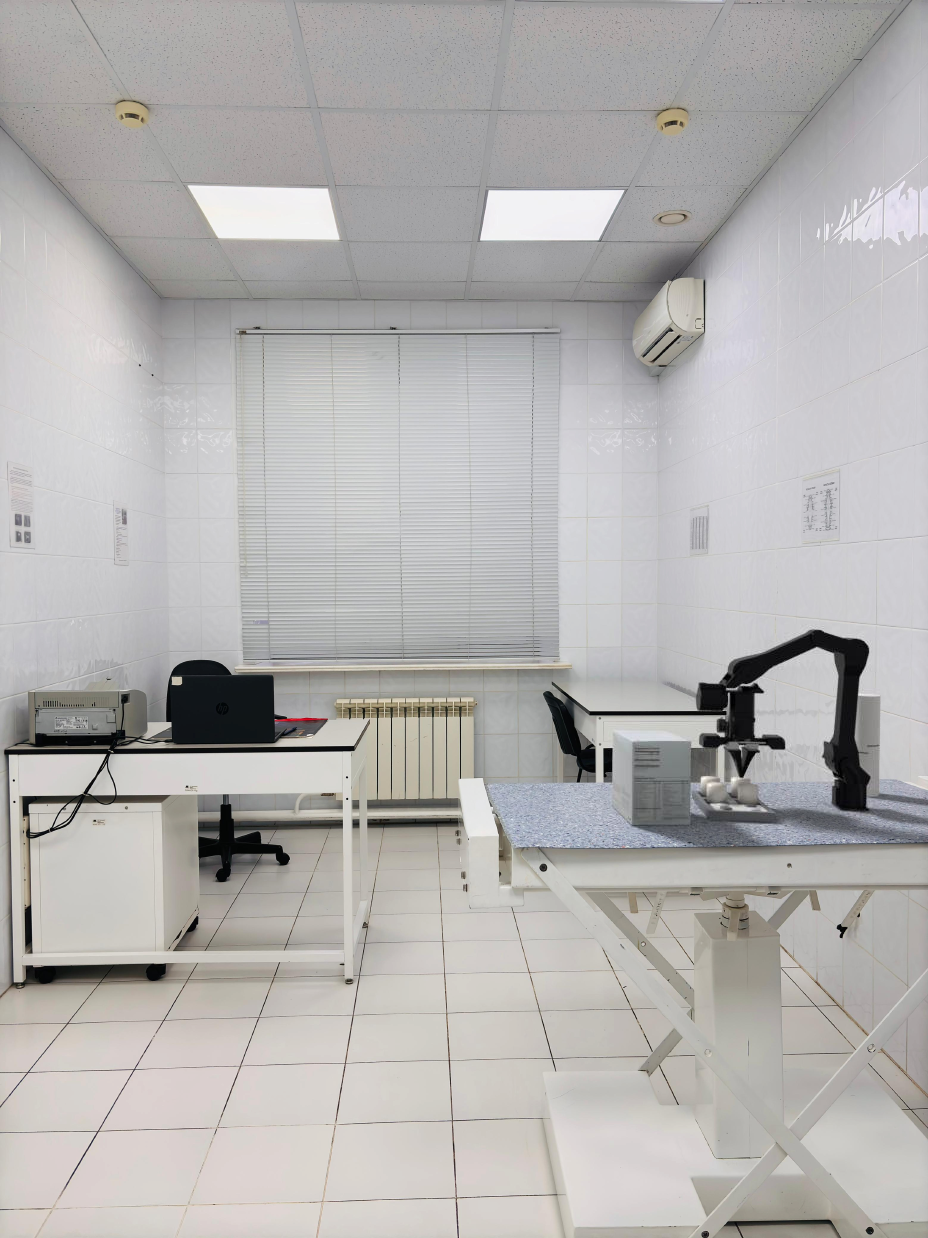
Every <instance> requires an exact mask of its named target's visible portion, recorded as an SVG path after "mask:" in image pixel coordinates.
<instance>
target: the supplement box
mask: <svg viewBox="0 0 928 1238" xmlns="http://www.w3.org/2000/svg"><path fill="white" fill-rule="evenodd" d="M691 768H692V741H691V740H688V739H685V738H683V737H681V736H678V734H677V735H676V734H675V733H672V732H669V731H667V730H645V729H644V730H643V729H640V730H635V729H634V730H632V729H631V730H630V729H628V730H627V729H626V730H623V729H622V730H621V729H613V730H612V779H611V780H612V781H611V782H612V783H611V785H612V790H611V791H612V792H611V793H612V794H611V799H612V800H611V802H612V803H611V806H612V807H613V808H614V809H615V810H616V811H617V812H618V813H619V814H620V815H621V817H623V818H624V819H625V820H626V821H627V823H629V824H630V825H631V826H690V825H691V798H692V790H691V785H692V784H691V782H692V780H691V779H692V774H691V773H692V772H691V770H692V769H691Z"/></svg>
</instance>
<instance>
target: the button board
mask: <svg viewBox="0 0 928 1238" xmlns="http://www.w3.org/2000/svg"><path fill="white" fill-rule="evenodd" d="M692 799H693V800H694V801H695V802H694V801H693V800H692ZM691 800H692V801H693V802H694V804H695V805H696V806H697V805H698V806H697V807H698V809H700V811H701V812H702V813H703V815H704V816H705V817H706V818H707V819H708V821H729V822H731V821H732V822H733V821H735V822H753V821H754V823H755V821H756V822H757V823H759V822H760V823H776V812H774V810H772V809H771V808H770V807H769V806H767V804H766V803H764V802H763V801H762V800H761V799H759V798H758V804H757V805H754V804H740V803H738V797H733V796H731V791H727V803H717V804H713V803H709V802H707V796H703V795H701V790H691Z"/></svg>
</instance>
